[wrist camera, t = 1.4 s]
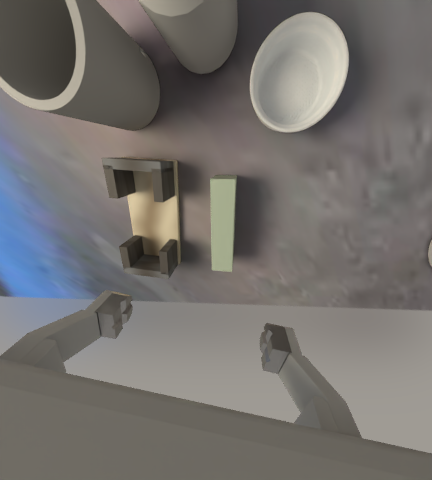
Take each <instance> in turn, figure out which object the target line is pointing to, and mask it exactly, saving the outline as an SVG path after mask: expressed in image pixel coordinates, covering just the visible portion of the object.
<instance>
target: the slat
mask: <svg viewBox="0 0 432 480" xmlns="http://www.w3.org/2000/svg"><path fill="white" fill-rule="evenodd" d="M236 186H237V175H215V176H214V177H213V178H211V179H210V188H211V248H212V270H216V271H229V272H232V266H233V256H234V234H235V210H236Z"/></svg>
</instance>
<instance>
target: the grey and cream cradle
mask: <svg viewBox="0 0 432 480" xmlns="http://www.w3.org/2000/svg"><path fill="white" fill-rule="evenodd" d="M102 162H103V167H104V173H105V178H106V183H107V188H108V193H109V198H121V197H124V196H127V197H128V203H129V210H130V216H131V222H132V229H133V235H134V236H133V237H132V238H130V239H129V240H128V241H126V242H125V243H124V244H122V245H121V246H119V248H120V253H121V258H122V263H123V268H124V273H127V274H135V275H142V276H150V277H157V278H165V279H169V278H170V276H171V274H172V273H173V271H174V269H175V268H176V266H177V265H178V264H180V263H181V251H180V221H179V192H178V163H177V160H162V159H146V158H131V157H121V158H102Z"/></svg>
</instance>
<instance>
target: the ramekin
mask: <svg viewBox="0 0 432 480" xmlns="http://www.w3.org/2000/svg"><path fill="white" fill-rule="evenodd" d="M348 67H349V52H348V46H347V42H346V39H345V36H344V34H343V32H342V31H341V29H340V28H339V26H338V25H337V24H336V23H335V22H334V21H333V20H332V19H331V18H329V17H327V16H326V15H323V14H321V13H316V12H305V13H300V14H296V15H294V16H292V17H290V18H288V19H286V20H285V21H283V22H282V23H280V24H279V25H278V26H277V27H276V28H275V29H274V30H273V31H272V32H271V33H270V34H269V35H268V36H267V38H266V39H265V40H264V42H263V44H262V45H261V47H260V49H259V51H258V53H257V55H256V57H255V60H254V63H253V66H252V71H251V76H250V95H251V101H252V104H253V107H254V109H255V112H256V114H257V117H258V118H259V119H260V121H261V122H262V123H263V124H264V125H265V126H266V127H267V128H270V129H271V130H274V131H278V132H286V133H291V132H298V131H302V130H305V129H307V128H309V127H311V126H313V125H314V124H316V123H317V122H319V121H320V120H321V119H322V118H323V117H324V116H325V115H326V114H327V113H328V112H329V111H330V110H331V109H332V107H333V106H334V105H335V103H336V102H337V100H338V98H339V96H340V94H341V92H342V90H343V87H344V85H345V82H346V78H347V73H348Z"/></svg>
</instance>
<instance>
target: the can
mask: <svg viewBox="0 0 432 480" xmlns="http://www.w3.org/2000/svg"><path fill="white" fill-rule="evenodd" d="M138 1H139V3H140V4H141V6H142V7H143V9H144V10H145V12H146V13H147V15H148V16H149V17H150V19H151V20H152V22H153V23H154V25H155V26H156V28H157V29H158V31H159V32H160V34H161V35H162V37H163V38H164V40H165V41H166V43H167V44H168V46H169V47H170V49H171V50H172V51H173V53H174V54H175V56H176V57H177V59H178V60H179V61H180V63H181V64H182V65H183V66H184V67H185V68H187V69H188V70H190V71H191V72H195V73H198V74H205V73H211V72H213V71H214V70H216V69H217V68H219V67H221V66H222V64H223V63H224V62H225V61H226V60H227V58H228V57H229V55H230V53H231V51H232V49H233V47H234V45H235V40H236V36H237V31H238V10H237V0H138Z"/></svg>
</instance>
